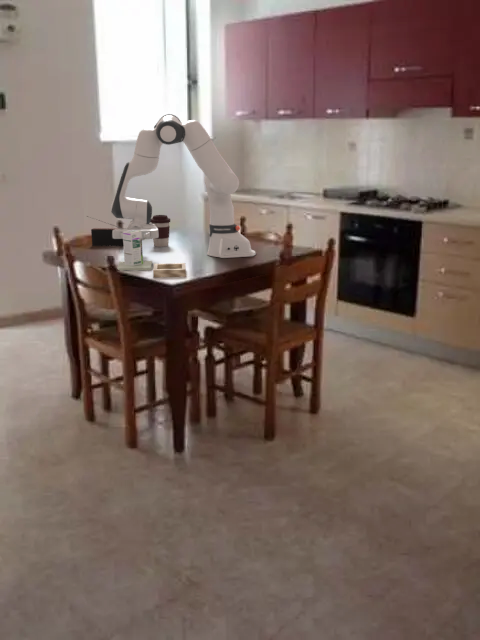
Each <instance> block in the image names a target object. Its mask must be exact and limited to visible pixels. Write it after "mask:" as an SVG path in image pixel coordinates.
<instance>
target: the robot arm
mask: <svg viewBox="0 0 480 640" xmlns="http://www.w3.org/2000/svg"><path fill="white" fill-rule="evenodd" d="M181 121H182V120H180V118H179V117H178V116H176V115H174V114H170V113H168V114H165V115H163V116H162V117H161V118H159V120H158V121H157V123H155V125H154V127H153V128H143V129H141V130H140V131H139V133H138V135H137V138H136V143H135V146H134V154H133V157H132V159H130V161H128V162H126V164H125V165H124V168H123V169H122V173H121V176H120V180H119V182H118V183H119V184H118V187H117V190H116V193H115V195H114V198H113V200H112V203H111V205H110V211H111V214H112V215H113V216H114V217H115V218H116V219H126V220H131V221H130V222H128V224H127V226H126V228H122V229H121V228H115V229H114V230H113V231H112V235H113V239H123V232H124V231H131V230H139V231H141V234H142V241H145V240H153V239H155V238H158V237H159V234H158V228H157V227H156V226H155V224H152V223H151V222H150V221H151V219H152V218H153V214H152V213H153V207H152V204H151V202H150V201H149V200H146V199H140V198H134V197H127V196H126V192H127V189H128V186H129V183H130V181H131V180H132V179H133V178H136V177H141V176H146V175H149V174H151V173H152V172H154V171H155V170H156V169H157V167H158V164H159V159H160V153H161V147H162V146H163V144H164V145H167V146H168V145H169V146H170V145H174V144H175V145H176V144H179V143H183V144H185V146H186V148H187V149H188V152H189V153H190V155H191V156H192V158H193V160H194V161H195V164H196V165H197V166H198V168H199V169H200V170H201V171H202V172H203V174H204V175H205V176H204V185H205V187H206V193H207V199H208V205H209V225H208V226H209V227H208V235H209V243H208V250H207V256H210V257H217V258H220V259H227V258H228V259H229V258H242V257H255V256H256V253H257V252H256V250H253V249H252V246H251V242H250V240H249V238H247V237H246V236H245V235H243V234H241V232H239V231H240V229H241V227H240V226H239V225H237V224H236V223H235V207H234V204H233V200H232V194H234V193H236V192H237V190H238V189H239V186H240V180H239V177H238V176H237V175H236V174H235V172H234V171H233V170H232V168H231V167H230V166H229V164H228V163H227V161H226V160H225V159H224V157H223V156H222V155H221V153H220V152H219V150H218V148H217V147H216V145H215V143H214V142H213V140H212V138H211V136H210V134H209V133H208V132H207V130H206V129H205V128H204V126H203V125H202V124H201V123H200V122H199V120H196V119H191V120H190V119H189V120H187V121H186V122H181Z"/></svg>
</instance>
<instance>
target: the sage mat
mask: <svg viewBox="0 0 480 640" xmlns="http://www.w3.org/2000/svg"><path fill="white" fill-rule="evenodd" d="M152 266H153V261H152V260H143V264H141V265H136V266H129V265H125V261H119V262H118V265H117V268H116V270H117V269H118V270H121V271H120V272H124V271H123V270H138V271H152Z"/></svg>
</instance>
